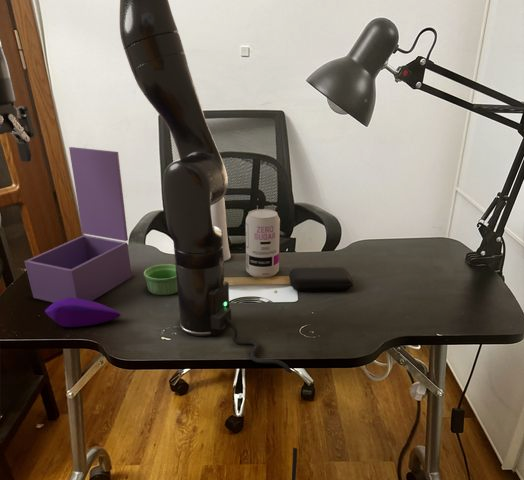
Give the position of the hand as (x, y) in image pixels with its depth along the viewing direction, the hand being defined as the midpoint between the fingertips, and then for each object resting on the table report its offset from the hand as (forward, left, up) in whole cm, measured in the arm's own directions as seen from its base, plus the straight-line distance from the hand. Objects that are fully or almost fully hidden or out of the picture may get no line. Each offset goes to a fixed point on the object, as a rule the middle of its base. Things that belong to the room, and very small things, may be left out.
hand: (10, 165), depth 106 cm
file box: (-8, -6, -28) cm, 30 cm away
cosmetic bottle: (-28, -36, -28) cm, 54 cm away
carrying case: (-58, -31, -28) cm, 72 cm away
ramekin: (-26, -13, -28) cm, 41 cm away
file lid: (-8, -15, -9) cm, 19 cm away
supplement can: (-43, -31, -28) cm, 60 cm away
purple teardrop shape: (-20, +8, -28) cm, 36 cm away
